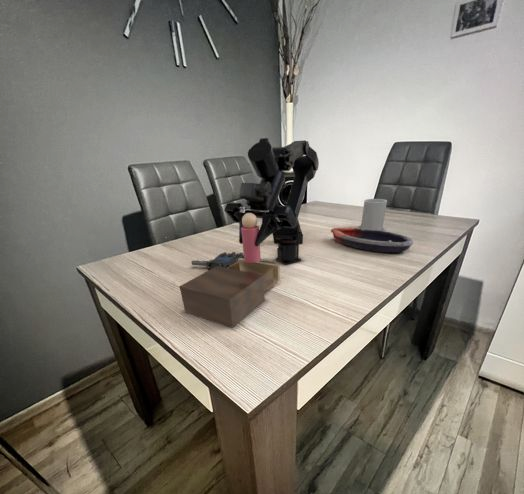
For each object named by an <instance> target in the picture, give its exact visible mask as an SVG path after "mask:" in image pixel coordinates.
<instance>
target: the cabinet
mask: <svg viewBox="0 0 524 494" xmlns="http://www.w3.org/2000/svg"><path fill="white" fill-rule="evenodd" d="M179 291H180V295H181V300H182V304H183V308H184V312H185V313H186V314H189V315H192V316H196V317H199V318H201V319H204V320H207V321H210V322H214V323H217V324H219V325H222V326H225V327H228V328H231V329H234V328H235V327H236V326H237V325H238V324H240V323H241V322H242V321H243V320H244V319H245V318H246V317H248V316H249V315H250V314H251V313H252V312H253V311H255V310H256V309H257V308H258V307H260V306H261V304H263V303H264V302H265V300H266V299H265V292H264V280H263V275H258V274H254V273H249V272H244V271H239V270H234V269H229V268H227V267H225V268H224V267H219V266H216V267H214V268H213V269H211V268H210V270H209V271H208V270H207V271H205V272H204V273H201V274H199V275H198V276H196V277H194V278H192V279H190V280H189V281H186V282H185V283H183V284H181V285H180V286H179Z"/></svg>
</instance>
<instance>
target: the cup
mask: <svg viewBox="0 0 524 494" xmlns="http://www.w3.org/2000/svg"><path fill="white" fill-rule="evenodd" d="M387 205H388V200H387V199H383V198H367V199H364V201H363V208H362V216H361V223H360V228H364V229H373V230H380V231H383V228H384V223H385V216H386V210H387Z"/></svg>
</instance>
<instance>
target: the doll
mask: <svg viewBox="0 0 524 494" xmlns="http://www.w3.org/2000/svg"><path fill="white" fill-rule="evenodd" d="M242 224H243V227H241V231H242V243H243V244H242V253H243V255H244V261H245V262H248V263H255V262H258V261H260V260H262V257H261V255H262V254H261V244H260V245H258V246H256V245H255V241H256V237H257V235H258V232H259V230H260V227H259V225H258V218H257V217H256V216H255V215H254V214H252V213H247V214H245V215H244V216H243V218H242Z"/></svg>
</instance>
